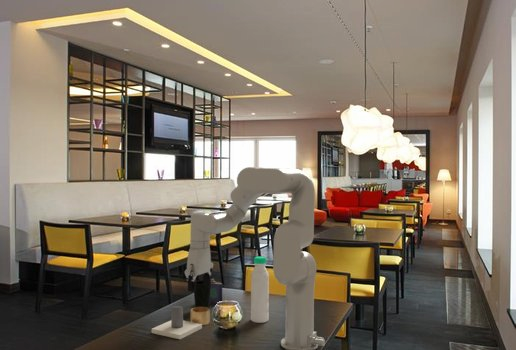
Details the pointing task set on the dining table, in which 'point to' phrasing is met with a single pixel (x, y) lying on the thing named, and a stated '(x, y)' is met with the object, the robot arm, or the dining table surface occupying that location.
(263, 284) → the water bottle
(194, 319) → the collar
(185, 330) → the stand
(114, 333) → the dining table surface
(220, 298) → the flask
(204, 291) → the cup
